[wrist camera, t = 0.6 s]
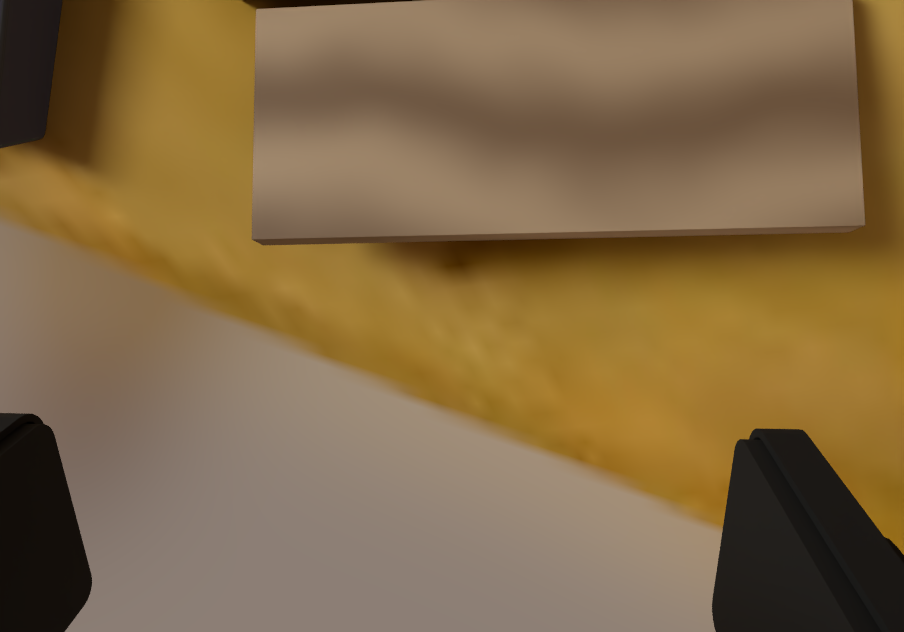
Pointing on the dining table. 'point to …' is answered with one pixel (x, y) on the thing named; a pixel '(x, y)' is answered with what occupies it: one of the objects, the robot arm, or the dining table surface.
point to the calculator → (26, 67)
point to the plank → (555, 120)
